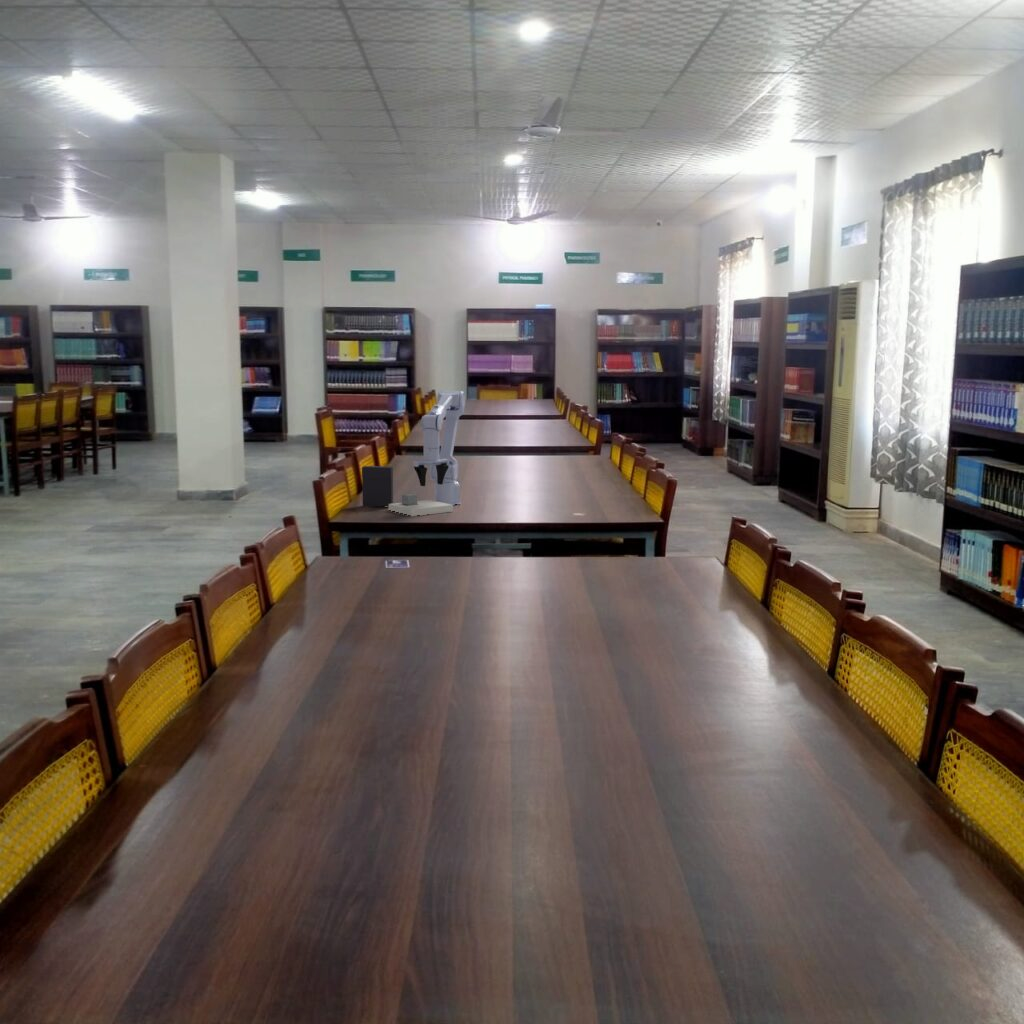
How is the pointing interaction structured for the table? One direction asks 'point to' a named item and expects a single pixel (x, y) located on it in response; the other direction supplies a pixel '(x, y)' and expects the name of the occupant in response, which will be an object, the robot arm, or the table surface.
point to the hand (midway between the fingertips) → (431, 485)
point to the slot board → (422, 508)
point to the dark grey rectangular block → (377, 485)
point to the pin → (409, 499)
